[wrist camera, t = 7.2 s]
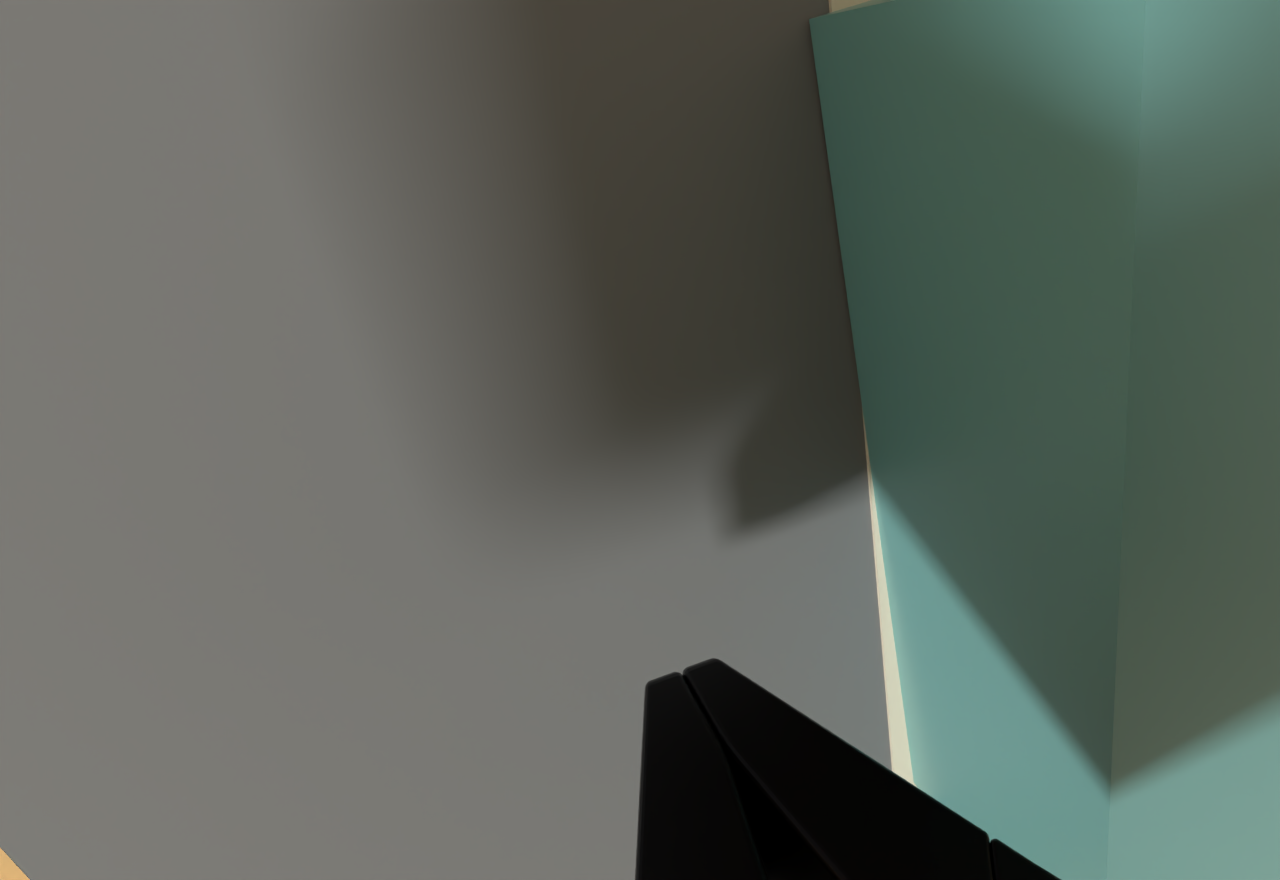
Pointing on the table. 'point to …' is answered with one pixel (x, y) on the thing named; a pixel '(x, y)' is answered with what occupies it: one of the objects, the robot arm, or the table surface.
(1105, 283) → the t block
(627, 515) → the mat
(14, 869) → the table surface
